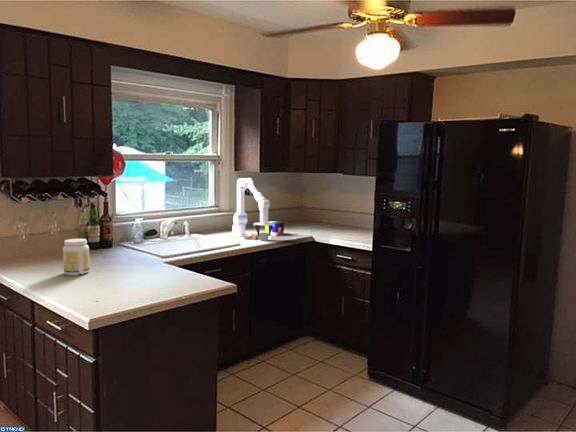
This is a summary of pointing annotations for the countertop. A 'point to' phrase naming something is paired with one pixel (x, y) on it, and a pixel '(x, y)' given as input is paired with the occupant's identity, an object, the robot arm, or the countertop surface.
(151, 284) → the countertop surface
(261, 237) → the block
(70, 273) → the supplement tub
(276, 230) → the puzzle toy
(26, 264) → the countertop surface
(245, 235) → the collar
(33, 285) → the countertop surface
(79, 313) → the countertop surface
